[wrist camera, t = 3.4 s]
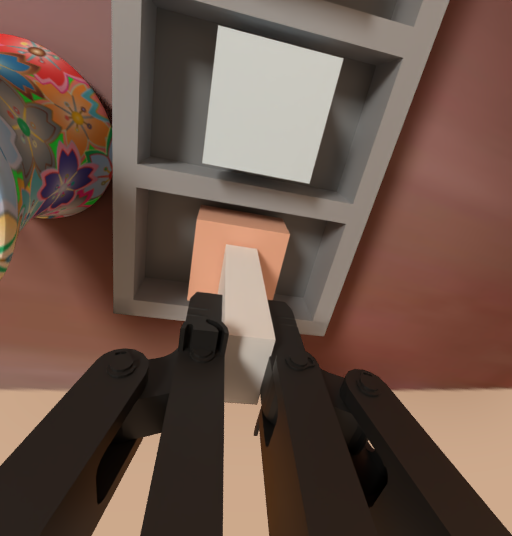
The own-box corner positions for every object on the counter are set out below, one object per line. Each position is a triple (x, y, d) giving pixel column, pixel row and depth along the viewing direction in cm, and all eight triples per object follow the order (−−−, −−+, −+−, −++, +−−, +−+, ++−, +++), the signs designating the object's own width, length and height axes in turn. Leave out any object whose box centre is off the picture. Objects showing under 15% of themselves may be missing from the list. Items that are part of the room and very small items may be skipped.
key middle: (220, 39, 12) (218, 25, 10) (324, 66, 13) (343, 58, 11) (206, 154, 14) (202, 163, 12) (297, 173, 15) (309, 183, 13)
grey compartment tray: (152, -265, 11) (108, -479, 7) (448, -146, 13) (546, -260, 9) (135, 273, 21) (113, 313, 17) (306, 296, 22) (323, 336, 18)
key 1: (200, 204, 16) (196, 219, 14) (282, 218, 17) (290, 234, 15) (191, 277, 18) (187, 300, 16) (265, 287, 19) (270, 310, 17)
